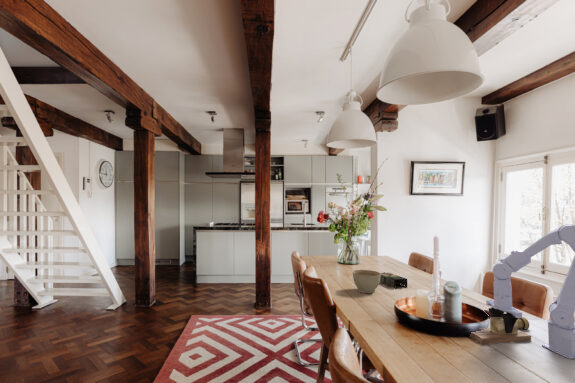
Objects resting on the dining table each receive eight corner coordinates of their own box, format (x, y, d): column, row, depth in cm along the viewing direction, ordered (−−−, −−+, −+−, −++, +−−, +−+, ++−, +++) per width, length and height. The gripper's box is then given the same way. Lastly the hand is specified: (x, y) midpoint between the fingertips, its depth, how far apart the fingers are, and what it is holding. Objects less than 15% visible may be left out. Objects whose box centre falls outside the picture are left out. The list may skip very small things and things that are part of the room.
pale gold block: (517, 333, 115) (517, 320, 115) (497, 334, 114) (497, 321, 114) (508, 329, 119) (508, 316, 119) (489, 330, 118) (489, 317, 118)
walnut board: (531, 341, 113) (530, 335, 113) (482, 344, 111) (482, 338, 111) (512, 332, 121) (512, 327, 121) (466, 334, 119) (466, 329, 119)
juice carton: (376, 281, 203) (376, 271, 203) (388, 280, 205) (389, 271, 205) (394, 289, 183) (394, 279, 183) (408, 288, 186) (408, 278, 186)
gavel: (470, 306, 143) (490, 305, 144) (471, 316, 143) (491, 315, 144) (506, 319, 123) (529, 319, 123) (507, 331, 122) (530, 330, 123)
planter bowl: (376, 296, 167) (376, 277, 167) (348, 292, 175) (348, 273, 176) (384, 290, 181) (383, 271, 181) (357, 286, 189) (357, 268, 190)
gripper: (479, 289, 124) (479, 323, 123) (509, 300, 109) (510, 339, 109) (494, 288, 124) (495, 322, 124) (526, 300, 110) (528, 338, 109)
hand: (503, 330), depth 116 cm, fingers closed on pale gold block, 4 cm apart
